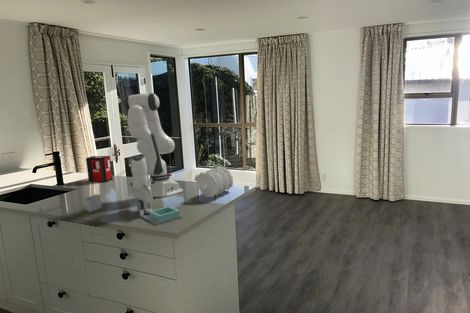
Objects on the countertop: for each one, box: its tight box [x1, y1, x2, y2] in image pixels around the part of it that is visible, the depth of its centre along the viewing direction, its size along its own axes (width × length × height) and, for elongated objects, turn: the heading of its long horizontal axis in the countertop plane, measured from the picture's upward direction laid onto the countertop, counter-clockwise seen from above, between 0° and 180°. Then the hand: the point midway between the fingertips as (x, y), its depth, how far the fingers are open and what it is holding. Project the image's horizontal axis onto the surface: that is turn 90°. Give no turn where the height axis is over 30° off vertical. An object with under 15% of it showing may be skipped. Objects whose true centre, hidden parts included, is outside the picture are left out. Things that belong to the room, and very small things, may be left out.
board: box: [138, 208, 183, 226], centre depth 199 cm, size 15×21×4 cm
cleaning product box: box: [85, 155, 114, 183], centre depth 297 cm, size 16×9×20 cm, turn 77°
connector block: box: [136, 200, 151, 213], centre depth 212 cm, size 6×4×6 cm
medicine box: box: [84, 193, 103, 213], centre depth 219 cm, size 8×4×9 cm, turn 150°
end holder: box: [149, 205, 181, 221], centre depth 196 cm, size 12×11×3 cm
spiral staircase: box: [194, 166, 234, 199], centre depth 237 cm, size 18×18×25 cm
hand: (143, 206), depth 212 cm, fingers closed on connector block, 4 cm apart
